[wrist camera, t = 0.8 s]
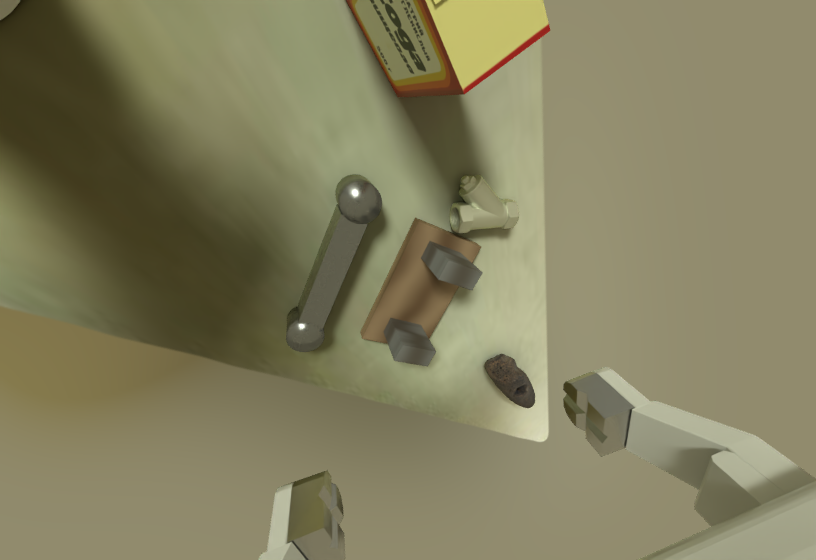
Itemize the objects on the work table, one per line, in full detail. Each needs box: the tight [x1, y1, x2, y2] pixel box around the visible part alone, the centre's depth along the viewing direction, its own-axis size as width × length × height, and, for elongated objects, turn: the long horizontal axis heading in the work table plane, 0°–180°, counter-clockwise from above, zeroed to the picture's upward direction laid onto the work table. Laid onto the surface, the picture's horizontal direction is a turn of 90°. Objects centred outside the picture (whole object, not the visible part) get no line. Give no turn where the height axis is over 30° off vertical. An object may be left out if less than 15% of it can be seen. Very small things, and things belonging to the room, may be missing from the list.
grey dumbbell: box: [286, 175, 382, 352], centre depth 38 cm, size 4×22×4 cm, turn 154°
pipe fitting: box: [450, 175, 519, 233], centre depth 40 cm, size 8×4×7 cm
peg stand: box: [361, 218, 482, 366], centre depth 42 cm, size 10×18×8 cm, turn 154°
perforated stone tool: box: [485, 354, 535, 408], centre depth 57 cm, size 15×5×7 cm, turn 34°
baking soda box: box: [346, 0, 550, 97], centre depth 24 cm, size 10×6×16 cm
